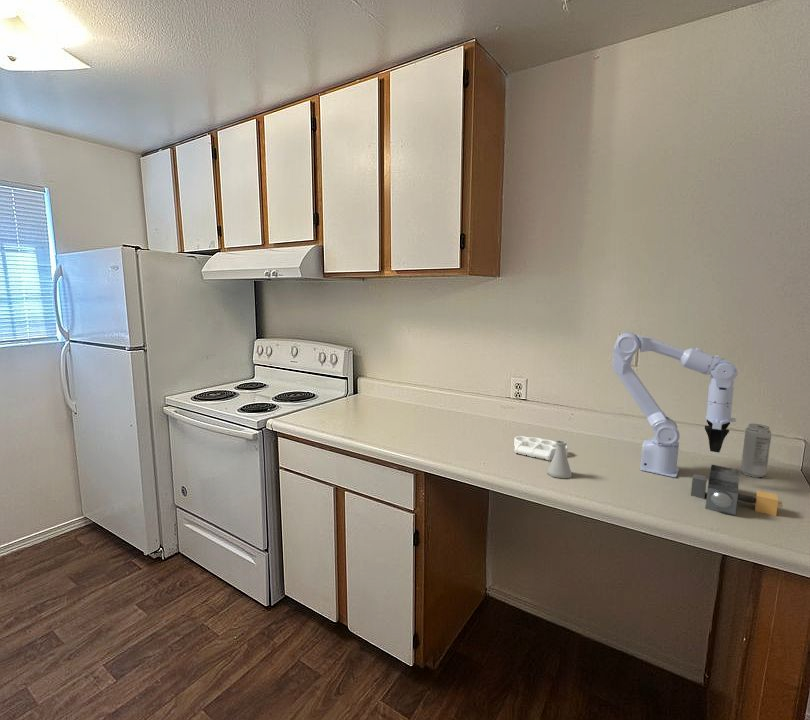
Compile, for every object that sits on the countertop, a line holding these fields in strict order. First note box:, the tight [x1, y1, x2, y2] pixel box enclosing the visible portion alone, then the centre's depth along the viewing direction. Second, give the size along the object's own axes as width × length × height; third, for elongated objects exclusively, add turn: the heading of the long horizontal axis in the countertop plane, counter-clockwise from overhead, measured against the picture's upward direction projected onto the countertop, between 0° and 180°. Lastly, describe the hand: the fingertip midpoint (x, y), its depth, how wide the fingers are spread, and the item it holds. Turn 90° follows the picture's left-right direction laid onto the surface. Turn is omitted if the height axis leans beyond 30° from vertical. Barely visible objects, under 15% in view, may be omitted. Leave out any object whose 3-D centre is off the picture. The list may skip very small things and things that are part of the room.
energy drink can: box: [740, 423, 772, 478], centre depth 131 cm, size 6×6×15 cm
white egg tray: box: [513, 435, 569, 461], centre depth 150 cm, size 3×18×15 cm
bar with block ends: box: [690, 473, 784, 517], centre depth 113 cm, size 18×4×5 cm, turn 53°
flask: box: [546, 439, 573, 479], centre depth 130 cm, size 7×7×10 cm
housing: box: [705, 464, 740, 516], centre depth 114 cm, size 6×17×6 cm, turn 143°
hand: (715, 447), depth 127 cm, fingers open, 7 cm apart
